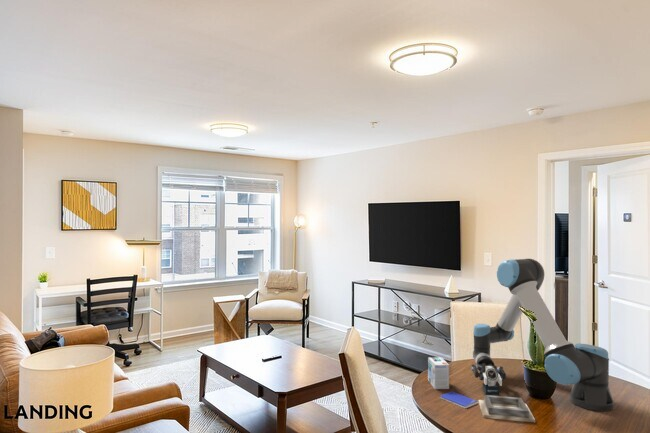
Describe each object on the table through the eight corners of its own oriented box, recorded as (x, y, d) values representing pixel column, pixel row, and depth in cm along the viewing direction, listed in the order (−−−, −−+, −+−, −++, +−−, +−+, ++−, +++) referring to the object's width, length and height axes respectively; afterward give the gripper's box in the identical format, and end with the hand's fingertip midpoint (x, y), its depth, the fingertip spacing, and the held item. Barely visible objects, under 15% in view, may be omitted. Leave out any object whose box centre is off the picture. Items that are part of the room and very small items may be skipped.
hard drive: (477, 400, 174) (452, 390, 184) (465, 405, 169) (440, 395, 179) (477, 404, 174) (452, 394, 184) (465, 409, 169) (440, 399, 179)
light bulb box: (427, 380, 199) (427, 357, 199) (441, 380, 199) (441, 356, 199) (434, 389, 188) (434, 364, 188) (449, 389, 189) (449, 364, 189)
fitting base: (526, 406, 171) (526, 397, 171) (535, 422, 158) (535, 412, 158) (478, 402, 175) (478, 393, 175) (483, 417, 161) (483, 408, 161)
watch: (487, 396, 179) (485, 370, 179) (481, 389, 187) (480, 363, 187) (501, 396, 178) (499, 369, 178) (495, 388, 186) (493, 363, 186)
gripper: (505, 373, 198) (517, 393, 175) (464, 370, 202) (470, 389, 179) (505, 356, 198) (517, 374, 175) (464, 354, 202) (470, 371, 179)
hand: (493, 382), depth 177 cm, fingers closed on watch, 5 cm apart
